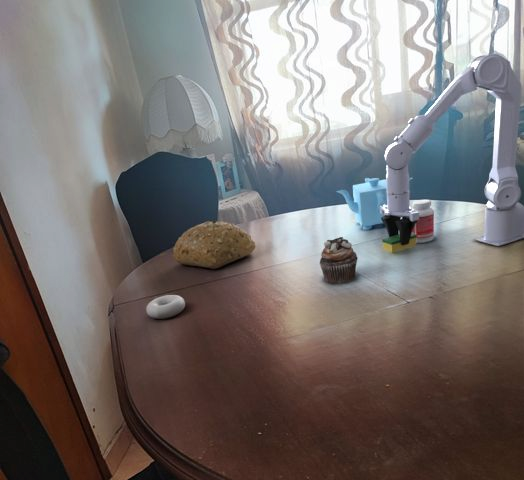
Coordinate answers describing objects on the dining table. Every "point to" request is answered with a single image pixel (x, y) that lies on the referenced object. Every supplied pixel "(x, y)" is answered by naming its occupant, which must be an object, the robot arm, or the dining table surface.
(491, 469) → the dining table surface
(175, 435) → the dining table surface
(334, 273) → the cupcake
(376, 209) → the teakettle
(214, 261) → the bread
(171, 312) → the donut
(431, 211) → the pill bottle
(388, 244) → the sponge
